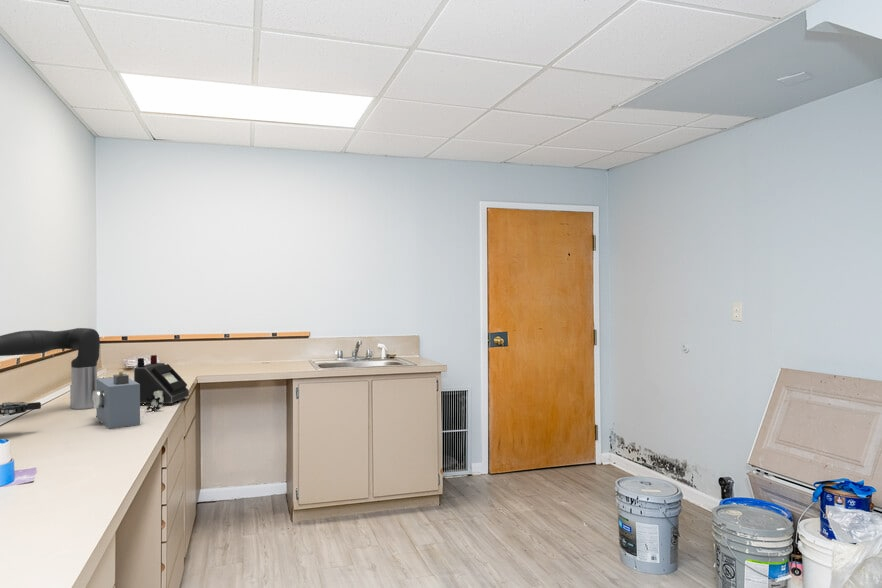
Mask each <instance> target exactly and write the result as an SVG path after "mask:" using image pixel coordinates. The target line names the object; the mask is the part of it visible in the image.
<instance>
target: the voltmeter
mask: <svg viewBox="0 0 882 588" xmlns="http://www.w3.org/2000/svg"><path fill="white" fill-rule="evenodd" d="M133 381H135V382H137V383H139V384H140V406H144V405H143V404H145V403H147V402H148V401H147V400H146V399H147V398H150V399H152V396H153V395H154V392H155V391H163V397H164V401H163V404H165V403H166V406H172V405H173V403H175V402H177V401H184V400H185V399H186V397H189V396H190V394H189V393H190V390H189V389H188V388H187V387H188V383H187V382H185V380H184V379H183V378H182V377H181V376H180V375H179V374H178V372H176V371H175V369H173V367H172V366H171V365H170V364H169V363H167V364H165V362H158V358H157V354H152V355H150V363H148V364H145V358H144V357H139V358H137V366H136V367H134V368H133ZM151 401H153V400H151ZM149 404H151V402H149Z"/></svg>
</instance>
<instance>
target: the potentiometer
mask: <svg viewBox="0 0 882 588" xmlns="http://www.w3.org/2000/svg"><path fill="white" fill-rule="evenodd" d="M129 377H130V375H129V374H127V373H124V369H119V370H118V374H113V381H114V384H116V385H119V384H129V379H130V378H129Z"/></svg>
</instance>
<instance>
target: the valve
mask: <svg viewBox="0 0 882 588" xmlns="http://www.w3.org/2000/svg"><path fill="white" fill-rule="evenodd" d="M146 400H147V401H148V402H147V403H145V404H144V405H143V406H147V407H146V410H147V411H150V410H151V412H152V411H154V412H156V409H157V411H158V410H160V409H161V408H163V407H164V403H163V401H164V397H163V391H155V392H154V395H153V396H152V399H150V398H147V399H146ZM151 400H153V401H151ZM149 402H151V403H149ZM151 406H152V407H151Z"/></svg>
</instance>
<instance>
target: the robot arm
mask: <svg viewBox="0 0 882 588" xmlns="http://www.w3.org/2000/svg"><path fill="white" fill-rule="evenodd" d="M100 344H101V337H100V334H99V333H98V331H97V330H95V329H94V328H89V327H88V328H87V327H78V328H72V329H66V330H58V331H55V330H54V331H53V330H41V329H39V330H37V329H31V330H21V331H14V332H10V333H6V334H1V335H0V357H8V356H9V357H11V356H22V355H23V356H26V355H36V354H44V353H46V352H47V353H48V352H50V351H53V350H74V351H77V356H76V358H73V359H72V360H71V362H70V365H71V368H70V369H71V372H70V373H71V377H70V378H71V384H70V385H69V386H70V388H69V389H70V390H69V391H70V393H69V395H70V403H69V404H70V408H71V409H72V410H85V409H86V410H87V409H92V408H93V409H94V407H93V401H92V396H93V391H96V379H98V361H99V357H100V349H101V348H100V346H101V345H100ZM41 408H42V403H41V402H40V401H36V402H24V401H20V402H19V401H16V402H15V401H14V402H11V401H8V402H2V403H1V404H0V416H3V417H6V416H14V415H18V414H23V413H26V412H27V411H31V410H33V411H34V410H40V409H41Z"/></svg>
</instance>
